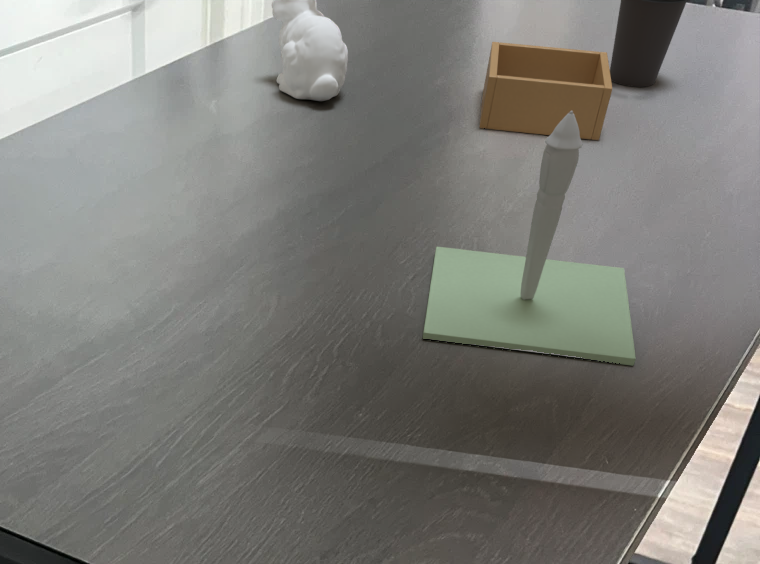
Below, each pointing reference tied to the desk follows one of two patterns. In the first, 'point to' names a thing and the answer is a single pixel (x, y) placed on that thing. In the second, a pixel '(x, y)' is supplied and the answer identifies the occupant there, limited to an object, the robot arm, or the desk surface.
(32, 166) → the desk surface
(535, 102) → the storage box
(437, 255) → the mat
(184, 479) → the desk surface
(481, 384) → the desk surface
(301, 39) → the rabbit
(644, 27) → the coffee cup
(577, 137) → the pen
